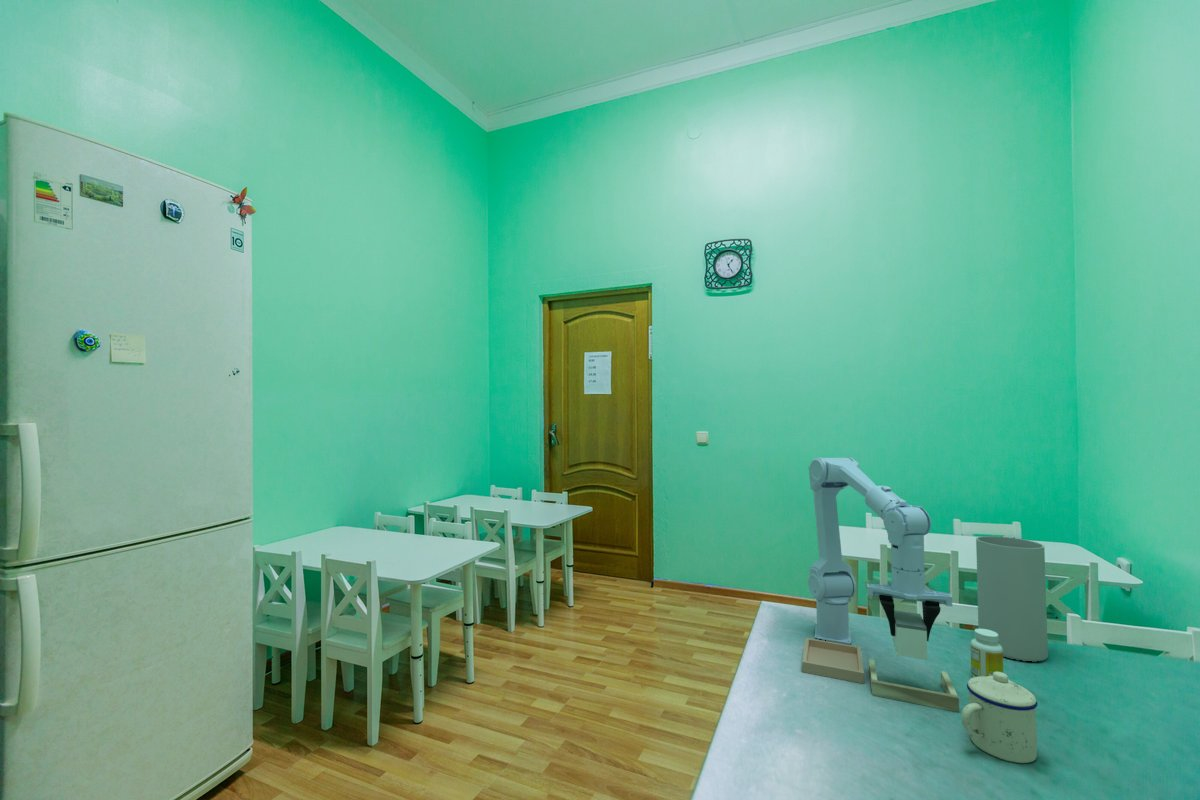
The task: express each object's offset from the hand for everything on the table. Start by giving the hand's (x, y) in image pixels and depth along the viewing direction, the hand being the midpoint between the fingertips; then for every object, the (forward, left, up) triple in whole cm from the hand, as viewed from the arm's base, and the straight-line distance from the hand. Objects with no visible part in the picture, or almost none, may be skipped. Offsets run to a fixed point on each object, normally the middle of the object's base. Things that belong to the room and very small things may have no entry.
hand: (908, 636), depth 103 cm
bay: (0, 0, -10) cm, 10 cm away
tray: (-5, -14, -10) cm, 18 cm away
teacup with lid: (+16, +10, -10) cm, 21 cm away
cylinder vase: (-30, +24, -10) cm, 40 cm away
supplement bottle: (-11, +15, -10) cm, 21 cm away
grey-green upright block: (0, 0, -2) cm, 2 cm away
